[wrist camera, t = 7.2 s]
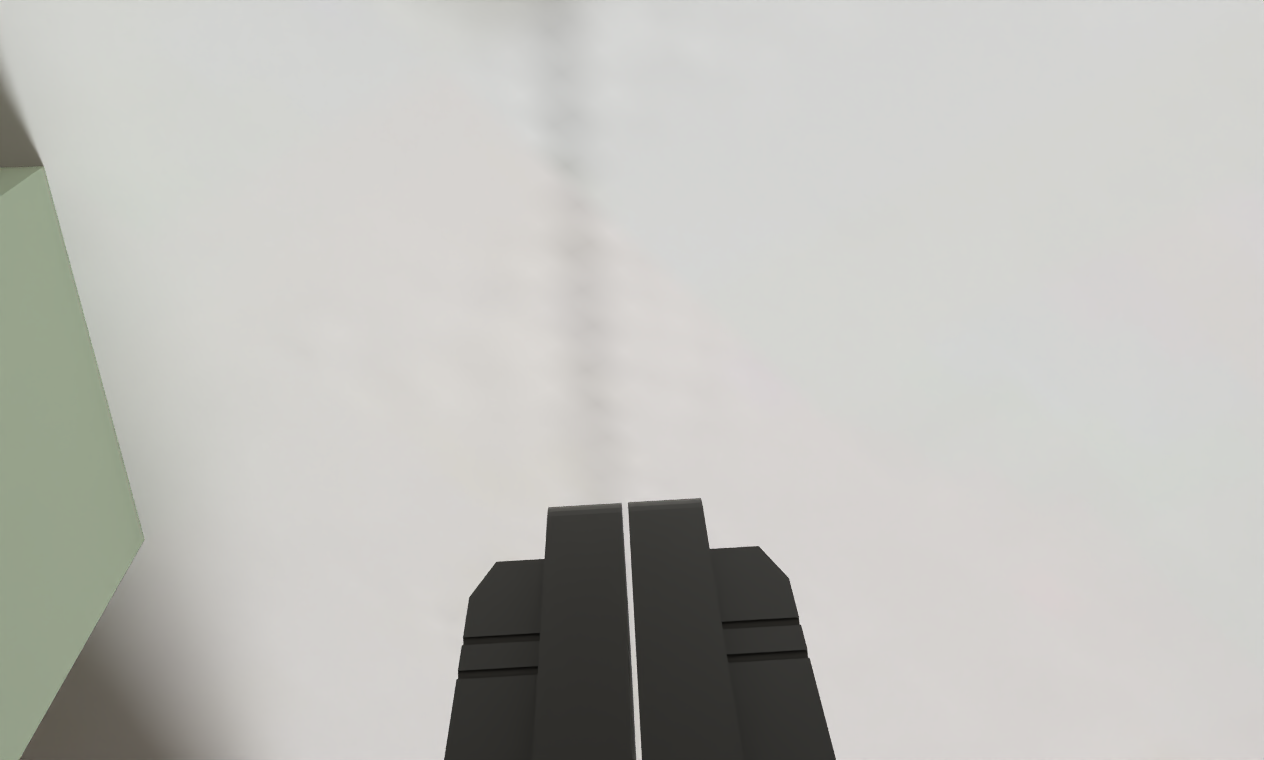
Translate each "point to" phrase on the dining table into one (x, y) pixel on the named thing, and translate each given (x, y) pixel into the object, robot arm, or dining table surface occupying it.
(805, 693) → the robot arm
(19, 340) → the sage block
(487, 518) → the dining table surface
